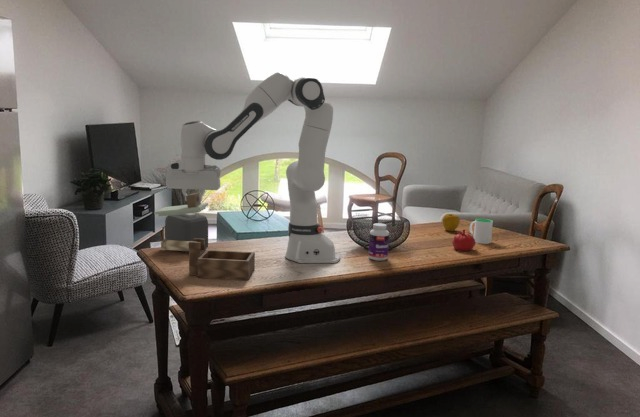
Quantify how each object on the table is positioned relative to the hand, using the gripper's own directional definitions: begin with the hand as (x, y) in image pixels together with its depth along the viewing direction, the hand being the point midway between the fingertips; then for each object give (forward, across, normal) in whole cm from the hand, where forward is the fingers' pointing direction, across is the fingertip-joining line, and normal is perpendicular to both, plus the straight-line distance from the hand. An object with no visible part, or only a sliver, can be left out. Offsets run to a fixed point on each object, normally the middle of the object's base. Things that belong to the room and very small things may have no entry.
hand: (193, 200), depth 204 cm
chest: (+24, -14, +13) cm, 31 cm away
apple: (+24, -112, -77) cm, 138 cm away
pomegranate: (+24, -111, -39) cm, 120 cm away
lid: (+4, +4, 0) cm, 6 cm away
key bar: (+16, +1, +13) cm, 20 cm away
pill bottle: (+24, -72, -17) cm, 78 cm away
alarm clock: (+24, +9, -18) cm, 32 cm away
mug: (+24, -122, -57) cm, 137 cm away
